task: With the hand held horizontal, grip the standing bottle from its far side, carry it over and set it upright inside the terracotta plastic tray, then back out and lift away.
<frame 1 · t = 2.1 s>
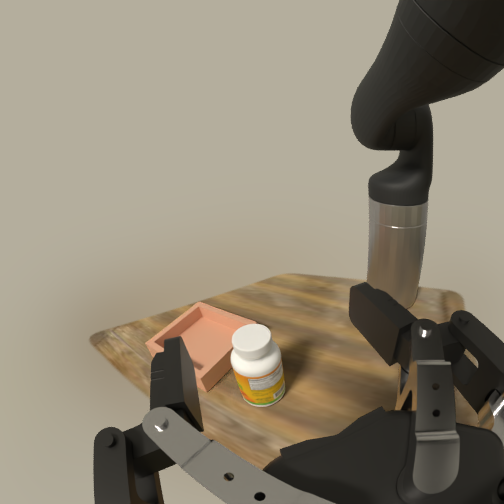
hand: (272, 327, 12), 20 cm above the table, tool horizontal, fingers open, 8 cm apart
supplement bottle: (263, 391, 30), on the table
tray: (204, 348, 39), on the table
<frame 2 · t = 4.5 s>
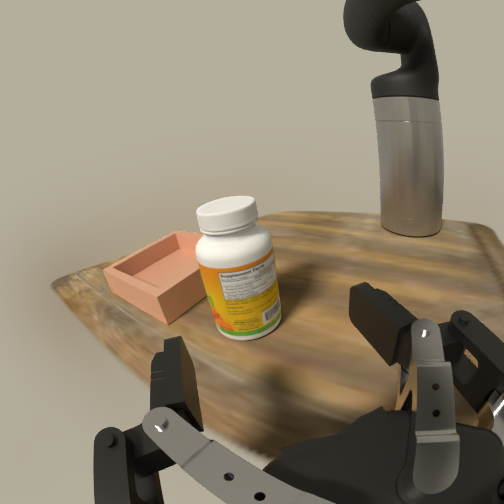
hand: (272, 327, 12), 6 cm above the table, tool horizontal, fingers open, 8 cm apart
supplement bottle: (249, 321, 22), on the table
tray: (175, 278, 30), on the table
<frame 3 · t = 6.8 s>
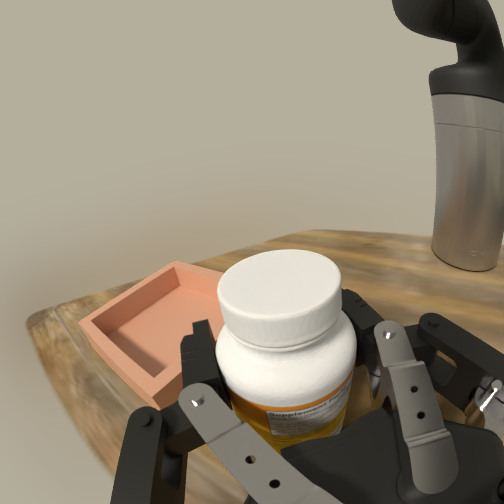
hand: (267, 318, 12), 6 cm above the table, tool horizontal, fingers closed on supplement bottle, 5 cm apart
supplement bottle: (293, 424, 13), on the table, touching gripper
tray: (177, 336, 21), on the table
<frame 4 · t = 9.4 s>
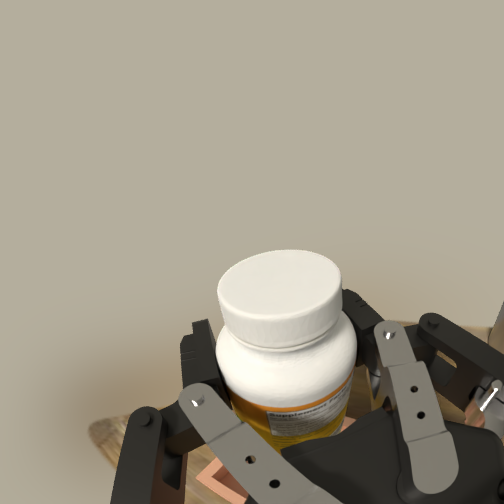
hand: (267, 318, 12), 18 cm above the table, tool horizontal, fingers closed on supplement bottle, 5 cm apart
supplement bottle: (293, 425, 13), point 11 cm above the table, touching gripper
tray: (297, 471, 18), on the table
when the fingers open (8 cm above the table, at t = 12.2 s): supplement bottle drops 1 cm, resting on tray.
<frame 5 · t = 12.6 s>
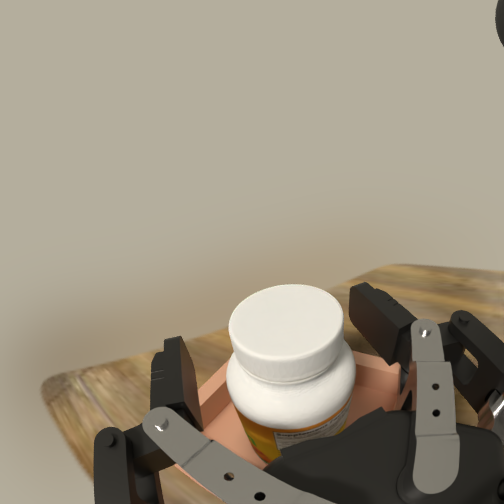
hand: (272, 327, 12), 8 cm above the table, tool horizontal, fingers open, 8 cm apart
supplement bottle: (296, 436, 13), point 1 cm above the table, touching tray
tray: (295, 438, 14), on the table
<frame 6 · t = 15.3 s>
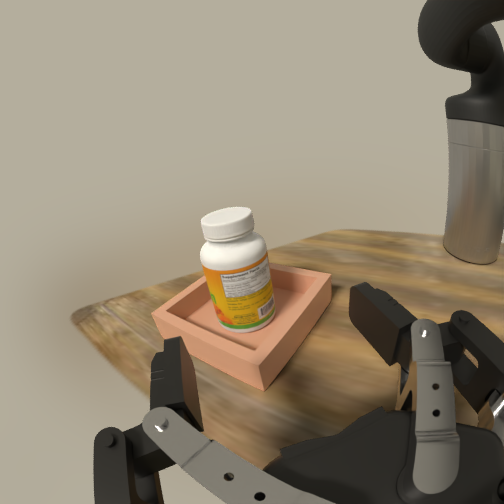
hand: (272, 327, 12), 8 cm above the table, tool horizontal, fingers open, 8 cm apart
supplement bottle: (247, 316, 25), point 1 cm above the table, touching tray
tray: (247, 321, 25), on the table
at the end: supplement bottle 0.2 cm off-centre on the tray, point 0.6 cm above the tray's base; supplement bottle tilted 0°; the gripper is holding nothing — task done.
